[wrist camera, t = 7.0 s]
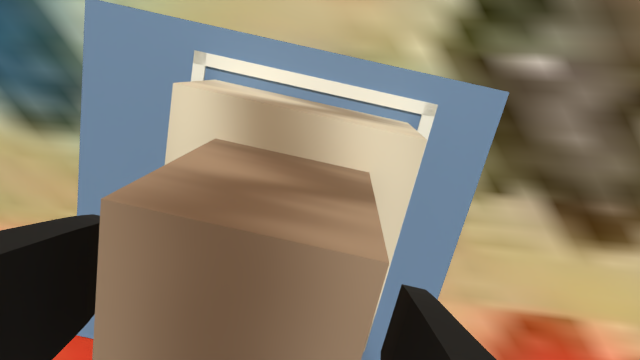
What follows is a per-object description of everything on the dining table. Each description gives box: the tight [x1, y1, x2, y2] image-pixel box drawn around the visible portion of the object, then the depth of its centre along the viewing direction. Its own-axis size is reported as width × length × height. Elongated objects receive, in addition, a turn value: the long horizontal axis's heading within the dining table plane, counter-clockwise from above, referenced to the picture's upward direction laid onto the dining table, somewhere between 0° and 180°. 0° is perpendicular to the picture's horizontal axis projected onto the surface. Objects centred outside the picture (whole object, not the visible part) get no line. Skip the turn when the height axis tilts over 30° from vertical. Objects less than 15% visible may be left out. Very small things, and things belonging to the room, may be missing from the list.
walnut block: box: [92, 138, 389, 360], centre depth 10 cm, size 5×5×6 cm
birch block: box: [165, 80, 427, 352], centre depth 15 cm, size 8×8×4 cm
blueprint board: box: [77, 0, 509, 360], centre depth 18 cm, size 17×16×1 cm
